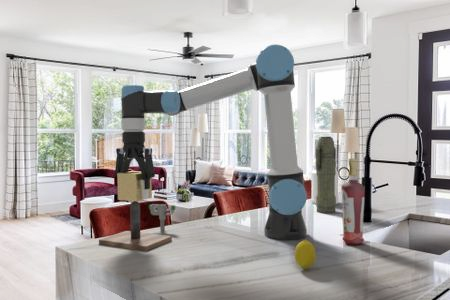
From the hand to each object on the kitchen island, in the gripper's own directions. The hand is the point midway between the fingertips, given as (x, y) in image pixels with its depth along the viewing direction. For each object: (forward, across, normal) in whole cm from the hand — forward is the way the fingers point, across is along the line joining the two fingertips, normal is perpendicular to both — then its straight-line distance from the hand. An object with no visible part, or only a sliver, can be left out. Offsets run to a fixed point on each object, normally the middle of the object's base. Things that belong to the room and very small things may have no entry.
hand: (134, 198), depth 139 cm
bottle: (+16, -40, -104) cm, 113 cm away
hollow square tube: (0, 0, 0) cm, 0 cm away
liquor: (+15, -67, -29) cm, 75 cm away
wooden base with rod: (+15, 0, 0) cm, 15 cm away
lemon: (+15, -60, +3) cm, 62 cm away
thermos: (+16, -46, -81) cm, 94 cm away
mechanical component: (+15, +2, -18) cm, 24 cm away
